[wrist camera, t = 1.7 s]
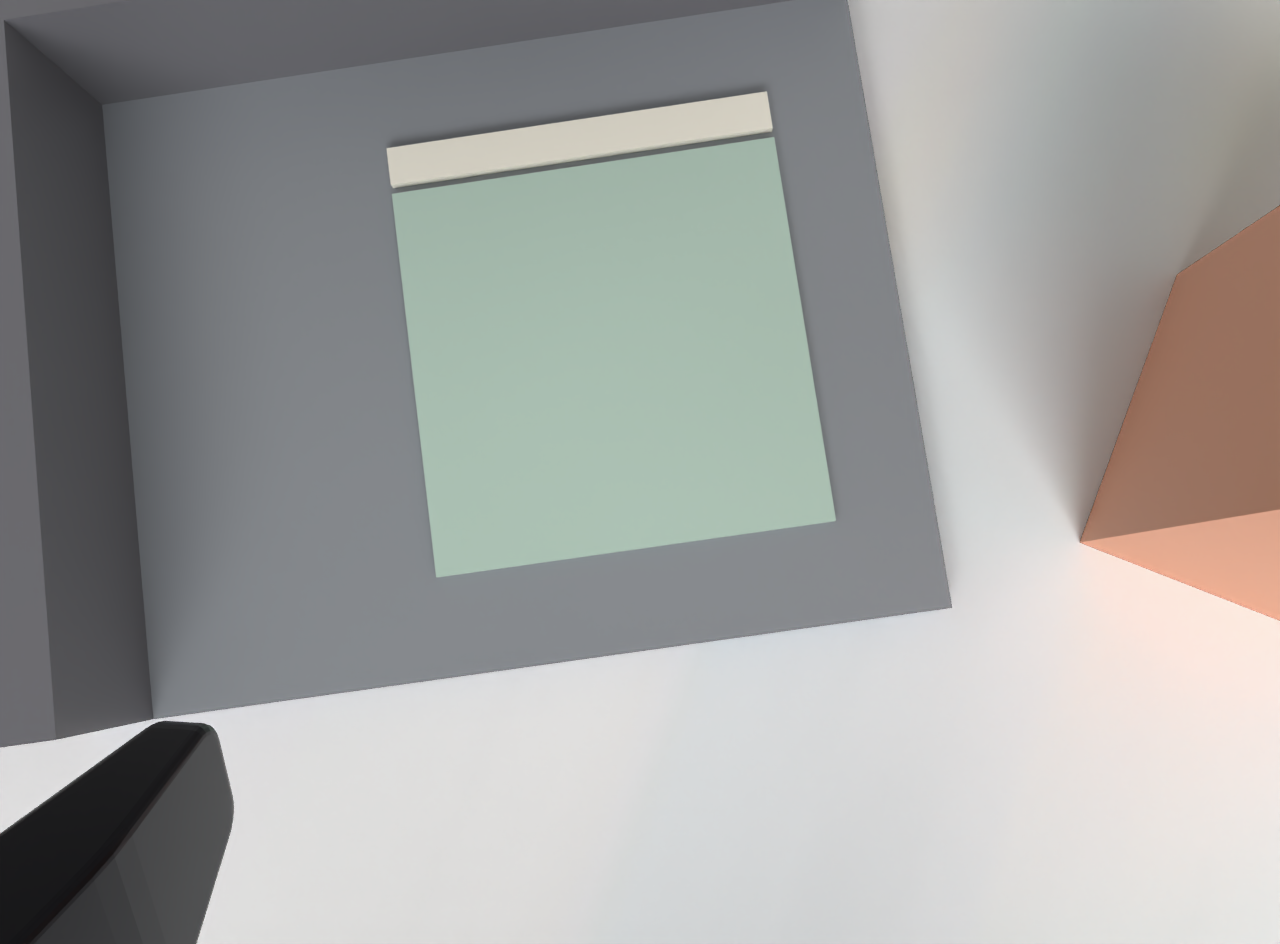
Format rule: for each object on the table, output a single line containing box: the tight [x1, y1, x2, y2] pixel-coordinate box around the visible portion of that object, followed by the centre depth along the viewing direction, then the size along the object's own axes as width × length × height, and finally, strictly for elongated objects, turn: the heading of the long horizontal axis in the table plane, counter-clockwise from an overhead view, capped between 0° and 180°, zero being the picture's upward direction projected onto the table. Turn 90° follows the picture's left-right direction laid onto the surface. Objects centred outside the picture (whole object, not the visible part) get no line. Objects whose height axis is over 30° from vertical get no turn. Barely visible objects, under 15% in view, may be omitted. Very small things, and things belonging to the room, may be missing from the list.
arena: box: [0, 0, 952, 747], centre depth 22 cm, size 14×18×4 cm
